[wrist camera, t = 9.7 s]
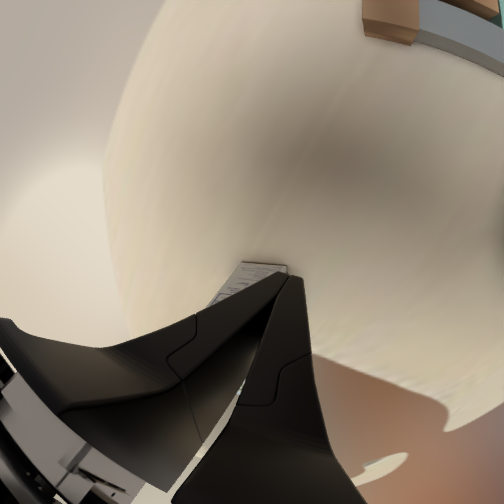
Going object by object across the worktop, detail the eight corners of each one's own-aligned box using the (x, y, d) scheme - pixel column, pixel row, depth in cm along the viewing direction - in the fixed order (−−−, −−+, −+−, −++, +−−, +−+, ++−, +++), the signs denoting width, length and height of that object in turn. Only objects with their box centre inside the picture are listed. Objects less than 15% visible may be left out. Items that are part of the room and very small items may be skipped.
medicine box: (241, 259, 25) (187, 324, 18) (289, 264, 23) (247, 338, 16) (253, 324, 29) (214, 388, 22) (294, 331, 27) (262, 402, 20)
